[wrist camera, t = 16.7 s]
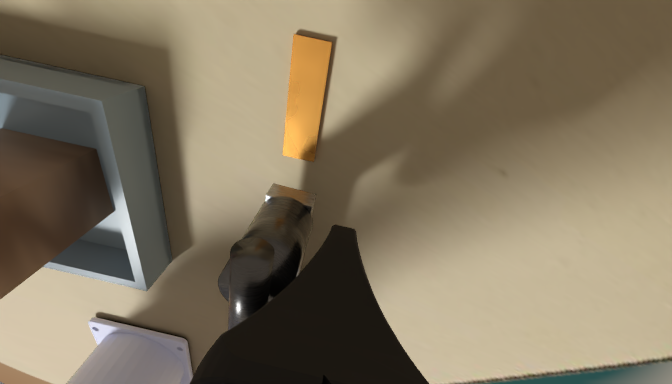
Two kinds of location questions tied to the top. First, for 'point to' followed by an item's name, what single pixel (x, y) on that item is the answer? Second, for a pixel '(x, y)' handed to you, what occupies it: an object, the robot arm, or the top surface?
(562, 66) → the top surface
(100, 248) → the tray
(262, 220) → the crank
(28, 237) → the block
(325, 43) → the orange flat bar
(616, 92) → the top surface
